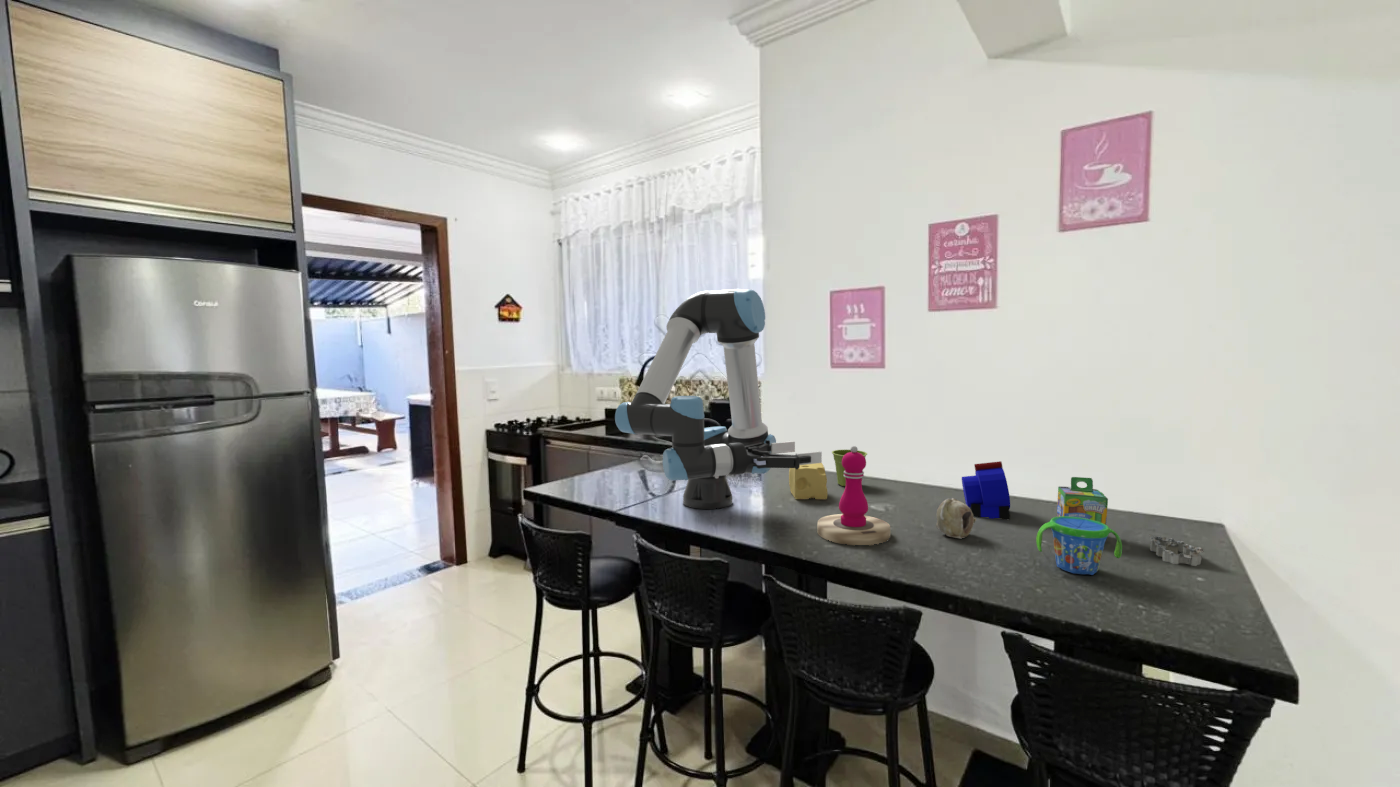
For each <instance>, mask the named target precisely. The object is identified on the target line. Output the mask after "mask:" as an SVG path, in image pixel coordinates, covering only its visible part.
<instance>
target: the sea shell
mask: <svg viewBox="0 0 1400 787" xmlns="http://www.w3.org/2000/svg"><path fill="white" fill-rule="evenodd" d="M976 521H977V517H974V516H973V513H972V511H971V509H970V508H969V507H968V506H967V505H966V503H964V502H963V501H960V500H958V499H957V498H954V497H951V498H946V499H945V500H943V501H942V502H940V504H939V505H938V508H937V509H936V524H935V526H936V529H937V530H939V531H941V532H942V533H944V534H945V535H946V537H950V538H953V539H954V538H955V539H962V538H966V537H968V536H969V535H970V533H971V531H972V529H973V527H974V524H975V523H976ZM962 540H963V539H962Z"/></svg>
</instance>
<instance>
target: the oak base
mask: <svg viewBox="0 0 1400 787" xmlns="http://www.w3.org/2000/svg"><path fill="white" fill-rule="evenodd" d="M842 515H843V513H839V514H837V513H836V514H831V515H824V516H822V517H820V518H819V519H818V520H817V523H816V524H817V529H816V532H817V534H818V536H819V537H820V538H822V539H824V540H826V541H828V540H829V541H828V542H831V541H832V543H835V544H840V545H845V544H847V545H846V546H855V545H869V546H875V545H874V544H877V545H880V544H879V543H882V544H884V543H883V542H885V543H887V542H888V541H889V540H890V539H891V525H890V524H889V522H886V521H885V520H883V519H880V518H877V517H873V516H871V515H870V516H869V515H866V514H865V515H864V516H865V517H866V525H865V526H862V527H849V526H845V525H843V524H841V516H842ZM889 538H890V539H889ZM887 540H888V541H887ZM886 541H887V542H886Z"/></svg>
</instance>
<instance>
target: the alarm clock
mask: <svg viewBox="0 0 1400 787" xmlns="http://www.w3.org/2000/svg"><path fill="white" fill-rule="evenodd" d="M974 471H975V473H974V475H968V476H967V475H965V476H961V484H962V489H963V490H962V491H963V497H964V501H965V504H966V505H967V506H968V507H969V508H970V509H971V511H972V513H973V516H975V517H974V518H981V517H989V518H988V519H994V518H1002V519H1001V520H1007V519H1011V518H1010V509H1011V497H1010V492H1009V485H1008V481H1007V478H1006V474H1005V470H1004V468H1003V463H1002V461H992V462H982V463H974Z"/></svg>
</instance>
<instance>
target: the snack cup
mask: <svg viewBox="0 0 1400 787" xmlns="http://www.w3.org/2000/svg"><path fill="white" fill-rule="evenodd" d="M1047 529H1051V532H1052V537H1053V538H1052V539H1053V548H1054V549H1053V550H1054V558H1055V563H1056V567H1057V568H1060V569H1061V570H1063V571H1065V572H1067V573H1070V574H1076V575H1091V576H1093V575H1094V574H1096V573H1098V571H1099V568H1100V565H1101V561H1102V557H1103V556H1102V555H1103V551H1104V548H1105V544H1106V541H1107V539H1108V536H1109V534H1110V533H1111V534H1112V535H1114V536H1115V538H1116V539H1115V540H1116V544H1115V549H1114V552H1113V555H1114V556H1115V558H1116V559H1120V558H1121V557H1122V555H1123V554H1122V553H1123V542H1122V539H1121V537H1120V535H1119V534H1118V533H1117V532H1116V531H1115V530H1113V529H1111V528H1110V527H1109V526H1108V525H1107V524H1106V525H1105V524H1103V523H1101V522H1098V521H1094V520H1090V519H1085V518H1079V517H1069V516H1060V517H1057V516H1054V517H1052V518H1051V519H1050V521H1048V522H1045V523H1043V525H1041V526H1040V528H1039V529H1038V531H1037V533H1036V538H1035V539H1036V540H1035V542H1036V548H1037V550H1038V551H1039V552H1040V553H1042V552H1043V550H1042V542H1043V534H1044V531H1046V530H1047Z"/></svg>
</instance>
